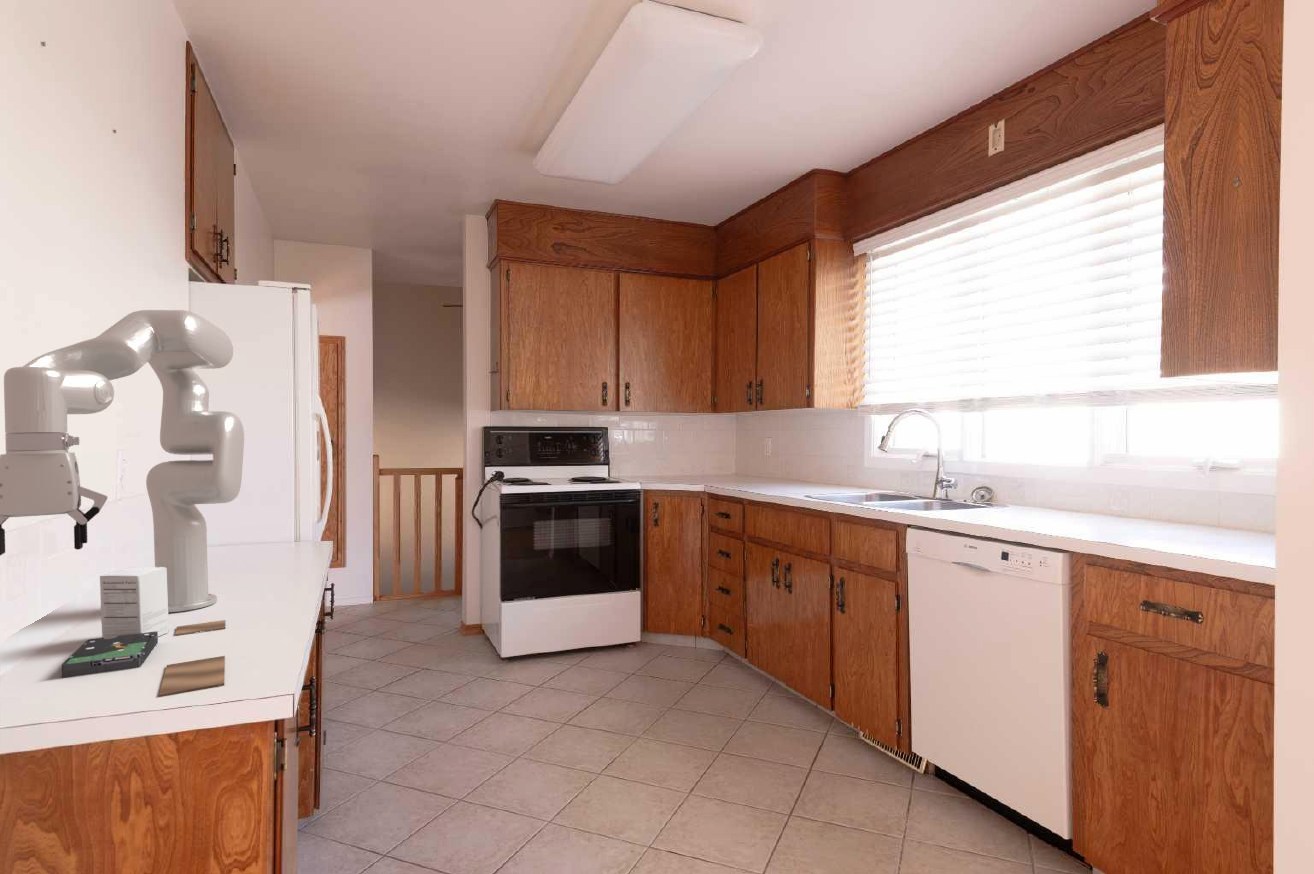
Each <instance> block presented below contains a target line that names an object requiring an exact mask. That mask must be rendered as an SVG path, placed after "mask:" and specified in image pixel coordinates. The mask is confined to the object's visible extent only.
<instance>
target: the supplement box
mask: <svg viewBox="0 0 1314 874" xmlns="http://www.w3.org/2000/svg"><path fill="white" fill-rule="evenodd" d="M99 587H100V588H99V590H100V614H101V615H100V616H101V619H100V620H101V636H102V637H101V638H104V639H111V638H116V637H118V636H121V635H129V634H140V633H147V632H155V631H157V632H158V637H161V636H163V635H167V634H168V633H169V632H170V625H169V623H170V622H169V620H170V619H169V613H168V593H167V568H166V567H155V566H149V567H148V566H144V567H137V566H136V567H134V566H133V567H127V568H125V569H121V570H117V571H113V572H110V573H105V574H102V575H99Z"/></svg>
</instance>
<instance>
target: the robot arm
mask: <svg viewBox="0 0 1314 874" xmlns="http://www.w3.org/2000/svg"><path fill="white" fill-rule="evenodd" d="M233 347H234V345H233V343H232V340H231V339H230V337H229V335H228V334H227V333H226V332H225V331H224V330H222V328H220V327H218V326H216V325H215V324H214V323H212V322H210V321H209V320H207V319H206V318H204V317H202V316H200V314H199V315H198V314H196V313H194V312H191V311H189V310H185V309H184V310H183V309H178V310H177V309H142V310H136V311H133V312H131V313H128V314H127V315H126V316H124V317H122V318H121V319H120V320H119V321H117V322H115V323H114V324H113V325H111V326H110V327H109V328H107V329H106V330H105V331H103V332H102V333H101V334H99V335H97V336H96V337H93V338H91V339H87V340H83V341H80V342H77V343H74V344H71V345H68V346H64V347H61V348H58V349H55V350H52V351H49V352H46V353H44V354H41V355H39V356H37V357H35V358H33V359H31V361H30V360H29V362H27V363H26V364H25V365H23V366H15V367H11V368H9V369H7V370H5V372H4V375H3V394H4V395H3V402H4V403H3V405H4V433H5V434H4V437H5V438H4V439H5V453H3V454H0V556H2V555H4V554H5V553H6V531H5V528H3V524H4V523H5V522H6V521H7V520H9V518H21V517H37V516H53V515H55V516H56V515H66V514H67V515H68V516H69V517H71V518H72V519H73V520H74V521H75V524H74V525H73V537H74V538H73V543H74V545H73V547H74V550H75V551H76V550H77V551H78V550H81V549H83V547H84V544H87V543H88V523H89V522H90V521H91V520H92V519H93V518H95V517H96V516H97V515H98V514H99V513H100V512H101V510H102V509H103V507H104V506H105V504H106V502H107V500H108V496H107V495H106V494H103V493H100V492H97V491H95V490H92V489H89V488H86V487H83V486H81V480H80V479H81V478H80V471H79V466H78V465H79V464H78V461H77V456H76V454H75V452H69V449H70V448H71V447H74V446H79V445H80V437H79V436H72V435H71V434H69V432H68V415H89V414H92V415H93V414H96V413H101V412H103V411H104V410H106V409H107V408H109V406H110V405H111V404H112V402H113V401H114V398H115V389H114V386H113V384H112V382H111V381H112V380H118V379H121V378H125V377H128V376H132V375H133V374H135V373H136V372H138V371H139V370H140V369H142V367H143V366H144V365H146V364H147V363H148V365H149V366H150V367H151V369H152V370H153V372H154V373H155V375H156V376H157V379H158V380H159V382H160V384H161V385H160V386H161V388H162V408H161V418H160V429H159V430H160V431H159V442H160V446H161V448H162V450H163V451H165V452H166V453H169V454H172V455H180V456H181V455H183V456H186V455H187V456H189V455H190V456H192V455H193V456H198V455H199V456H201V455H212V459H207V460H206V459H203V460H201V459H199V460H196V459H190V460H189V459H187V460H186V459H184V460H168V461H163V462H160V463H158V464H156V465H154V466H153V467H152V468H151V469H150V470H149V471H148V473H147V475H146V480H145V481H146V482H145V483H146V485H145V486H146V490H147V495H148V498H149V501H150V505H151V512H152V521H153V522H152V523H153V546H154V547H153V548H154V549H153V550H154V551H153V552H154V567H166V568H167V593H168V614H169V613H177V612H179V613H180V612H185V611H190V610H191V611H193V610H197V609H202V608H205V607H209V606H211V605H214V604H215V603H216V602H217V601H218V598H217V597H218V596H217V595H216V594H214V593H213V594H212V593H209V572H208V571H209V569H208V568H209V567H208V541H207V540H208V537H207V536H208V535H207V534H208V533H207V532H208V531H207V522H206V520H205V517H204V515H203V514H202V512H201V511H200V510H199V509H198V508H197V506H196V505H208V504H210V505H211V504H213V505H214V504H215V505H217V504H226V503H227V504H228V503H231V502H232V501H234V500H235V499H237V497H238V496H239V493H240V490H241V486H242V477H243V476H242V475H243V465H244V464H243V462H244V451H245V449H244V448H245V431H244V426H243V423H242V421H241V419H240V418H239V416H237V415H236V414H234V413H233V412H230V411H223V410H222V411H219V410H218V411H214V410H213V411H212V410H211V411H209V402H210V392H209V389H208V386H207V385H206V383H205V382H204V381H203V379H202V378H201V377H200V376H199V375H198V374H197V372H195V370H196V369H199V370H200V369H201V370H203V369H204V370H205V369H207V370H209V369H213V370H214V369H221V368H222V369H223V368H224V367H227V365H229V363H231V361H232V359H233V355H234V348H233ZM194 369H195V370H194ZM82 497H84V498H87V499H90V500H91V501H93V504H92V506H91V508H89V509H88V511H86V512H83V511H82V510H81V509H80V508H81V505H82Z"/></svg>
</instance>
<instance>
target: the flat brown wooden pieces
mask: <svg viewBox="0 0 1314 874" xmlns="http://www.w3.org/2000/svg"><path fill="white" fill-rule="evenodd" d="M218 629H220V630H225V629H226V619H225V620H223V619H221V620H214V621H207V622H201V623H200V622H199V623H195V624H193V623H192V624H187V625H186V624H185V625H179V626H176V629H175V634H174V637H175V636H176V637H177V636H184V634H185V635H190V634H189V633H192V634H196V633H195V632H199V633H201V632H200V631H206V632H210V631H211V630H213V631H218ZM225 662H226V657H225V655H222V656H216V657H215V656H213V657H207V658H202V659H201V658H200V659H194V660H192V661H189V660H188V661H183V662H177V663H170V664H166V667H165V671H164V675H163V678H162V682H161V685H160V689H159V694H158V697H165V696H170V695H175V694H182V693H188V692H193V691H200V690H205V689H211V688H215V687H222V686H223V687H224V686H225V676H226V675H225V668H226V666H225V664H226V663H225Z"/></svg>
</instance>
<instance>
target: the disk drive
mask: <svg viewBox="0 0 1314 874" xmlns="http://www.w3.org/2000/svg"><path fill="white" fill-rule="evenodd" d="M158 643H159V639H158V632H157V631H155V632H147V633H140V634H129V635H121V636H118V637H116V638H111V639H104V638H102V637H98V638H89V639H87V640H86V641H84V642H83V643H82V644H81V645H80V646H79V648H77V649H76V650H75V652H72V654H70V655H69V656H68V657H67V659H65V660H64V662H62V664H61V665H60V666H61V679H64V678H71V677H73V678H74V677H81V676H86V675H94V674H100V673H102V674H103V673H108V672H109V673H110V672H117V671H123V670H131V669H139V668H141V667H142V665H144V663H145V662H146V660H147V659H148V657H149V656H150V655H151V653H152V652H153V650H154V649H155V648H156V647H157V645H158ZM156 644H157V645H156ZM155 646H156V647H155ZM154 647H155V648H154ZM151 651H152V652H151Z"/></svg>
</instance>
